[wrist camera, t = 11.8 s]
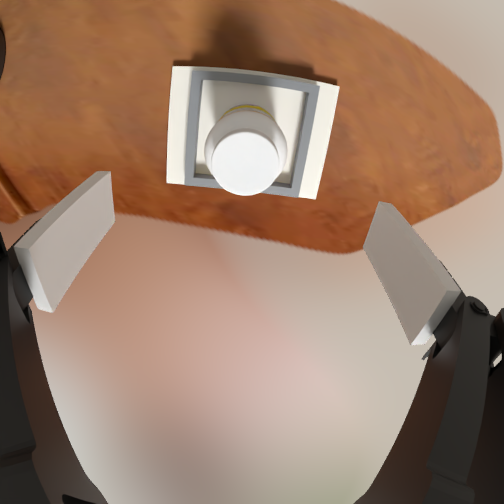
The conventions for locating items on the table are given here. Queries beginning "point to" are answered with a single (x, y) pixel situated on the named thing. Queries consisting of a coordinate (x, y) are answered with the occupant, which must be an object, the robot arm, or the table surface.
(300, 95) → the board
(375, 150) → the table surface
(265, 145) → the supplement bottle
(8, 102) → the table surface
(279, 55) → the table surface
